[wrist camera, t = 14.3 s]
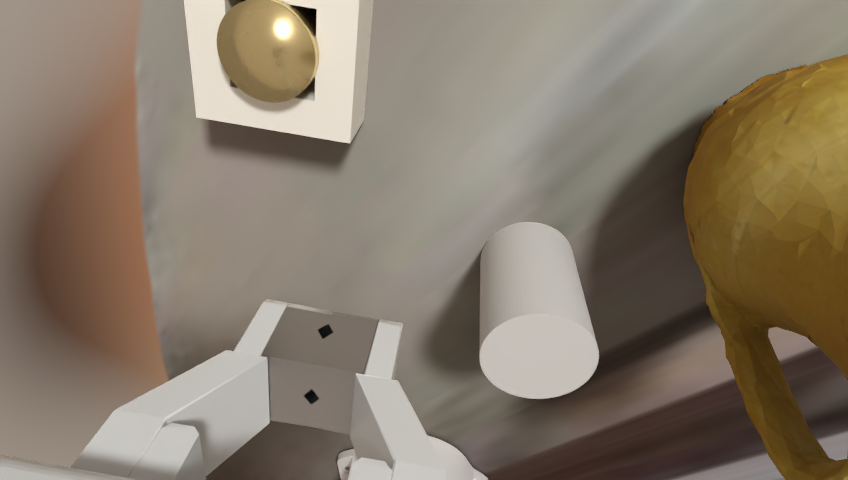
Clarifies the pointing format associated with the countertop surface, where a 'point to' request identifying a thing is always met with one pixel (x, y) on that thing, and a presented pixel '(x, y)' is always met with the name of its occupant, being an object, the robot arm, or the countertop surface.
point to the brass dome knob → (269, 48)
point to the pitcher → (776, 241)
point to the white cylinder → (534, 314)
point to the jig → (316, 105)
